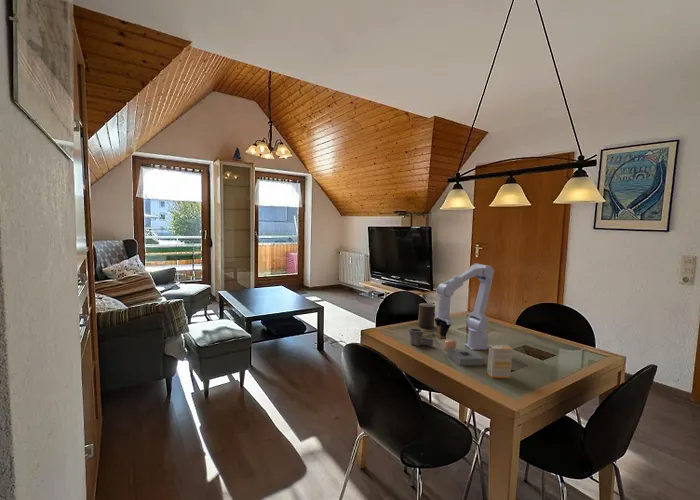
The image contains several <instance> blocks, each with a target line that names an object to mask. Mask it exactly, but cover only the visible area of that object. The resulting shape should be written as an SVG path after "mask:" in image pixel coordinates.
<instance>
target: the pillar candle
mask: <svg viewBox="0 0 700 500" xmlns="http://www.w3.org/2000/svg"><path fill="white" fill-rule="evenodd" d="M435 310H436V305H434V304H432V303H426V302H422V303H419V304H418V316H417V317H418V318H417V326H418V327H419V326H420V327H419V328H421V327H422V328H421V329H426V328H427V330H430V329H431V330H432V329H433V328H434V324H435V313H436V311H435Z"/></svg>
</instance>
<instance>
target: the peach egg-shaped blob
mask: <svg viewBox="0 0 700 500" xmlns="http://www.w3.org/2000/svg"><path fill="white" fill-rule="evenodd" d="M443 344H444V346H443V347H444V348H443V350H444V351H445V352H447V353H448V349H457V341H456V340H455V339H452V338H446V339H444V343H443Z"/></svg>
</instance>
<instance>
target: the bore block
mask: <svg viewBox="0 0 700 500" xmlns="http://www.w3.org/2000/svg"><path fill="white" fill-rule="evenodd" d="M447 356H448V357H449V358H450V359H451V360H453V361H454V362H455V363H456V364H458V366H462V367H463V366H484V365H485V358H484V357H482V356H481V354H479V353H477V352H476V351H475V350H472V349H470V348H456V349H448V352H447Z"/></svg>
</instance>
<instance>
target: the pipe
mask: <svg viewBox="0 0 700 500" xmlns="http://www.w3.org/2000/svg"><path fill="white" fill-rule="evenodd" d="M408 332H409V337H410V345H412V346H417V347H418V346H425V347H426V346H430V347H431V346H432V347H433V346H434V345H433V344H434V339H433V338H430V337H429V338H428V337H426V338H425V337H423V332H424V331H423V330H422V329H419V328H416V327H415V328H413V327H412V328H408Z"/></svg>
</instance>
